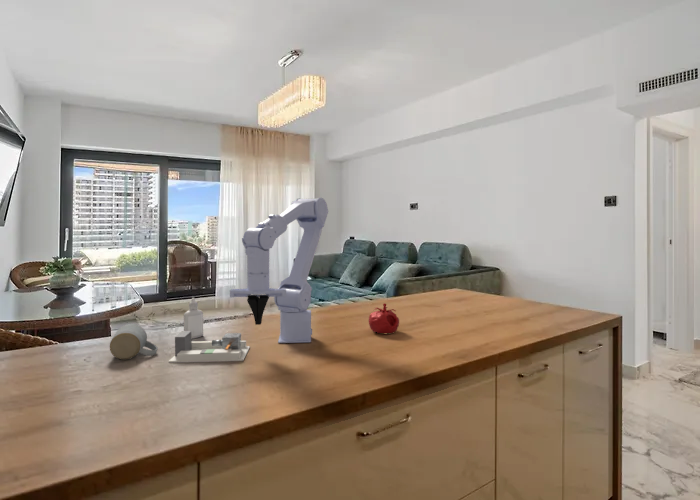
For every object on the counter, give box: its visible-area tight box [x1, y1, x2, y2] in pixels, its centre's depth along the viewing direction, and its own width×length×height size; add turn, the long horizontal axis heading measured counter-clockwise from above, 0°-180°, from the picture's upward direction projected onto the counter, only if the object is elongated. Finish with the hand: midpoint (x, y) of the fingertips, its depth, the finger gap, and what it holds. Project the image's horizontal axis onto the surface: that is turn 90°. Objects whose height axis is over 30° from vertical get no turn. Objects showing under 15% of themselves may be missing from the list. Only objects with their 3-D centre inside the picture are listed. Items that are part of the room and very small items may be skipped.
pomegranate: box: [368, 302, 400, 334], centre depth 131 cm, size 10×10×9 cm
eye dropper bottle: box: [183, 297, 204, 340], centre depth 123 cm, size 4×6×12 cm
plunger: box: [211, 332, 242, 350], centre depth 105 cm, size 7×9×4 cm
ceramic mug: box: [109, 323, 159, 361], centre depth 105 cm, size 11×8×8 cm
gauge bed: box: [168, 330, 251, 364], centre depth 106 cm, size 18×11×5 cm, turn 96°
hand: (258, 323), depth 108 cm, fingers closed
